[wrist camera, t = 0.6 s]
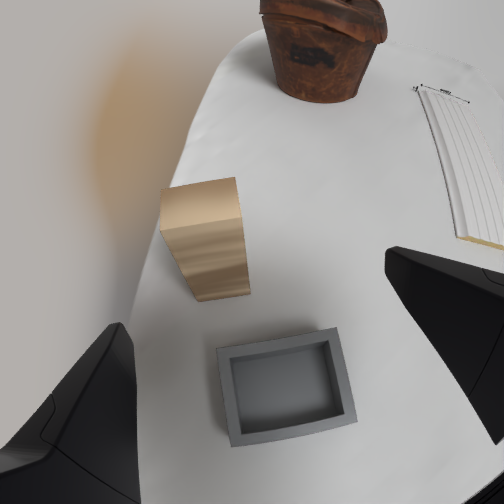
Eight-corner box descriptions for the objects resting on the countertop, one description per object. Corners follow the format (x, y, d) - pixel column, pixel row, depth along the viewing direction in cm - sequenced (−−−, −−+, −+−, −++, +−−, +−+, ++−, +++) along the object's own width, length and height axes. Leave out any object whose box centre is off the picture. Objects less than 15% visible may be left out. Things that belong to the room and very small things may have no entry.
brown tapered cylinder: (355, 61, 47) (365, -22, 31) (390, 122, 37) (417, 9, 22) (261, 58, 48) (256, -29, 32) (264, 117, 38) (257, -9, 23)
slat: (250, 294, 26) (241, 217, 16) (198, 302, 26) (159, 230, 16) (245, 262, 27) (235, 176, 18) (195, 270, 27) (161, 189, 18)
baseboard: (443, 238, 29) (515, 257, 27) (455, 223, 26) (528, 245, 24) (409, 92, 43) (465, 111, 41) (413, 79, 41) (470, 100, 39)
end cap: (346, 420, 20) (357, 421, 18) (235, 442, 20) (231, 447, 17) (328, 337, 24) (336, 327, 21) (222, 356, 23) (216, 348, 21)
